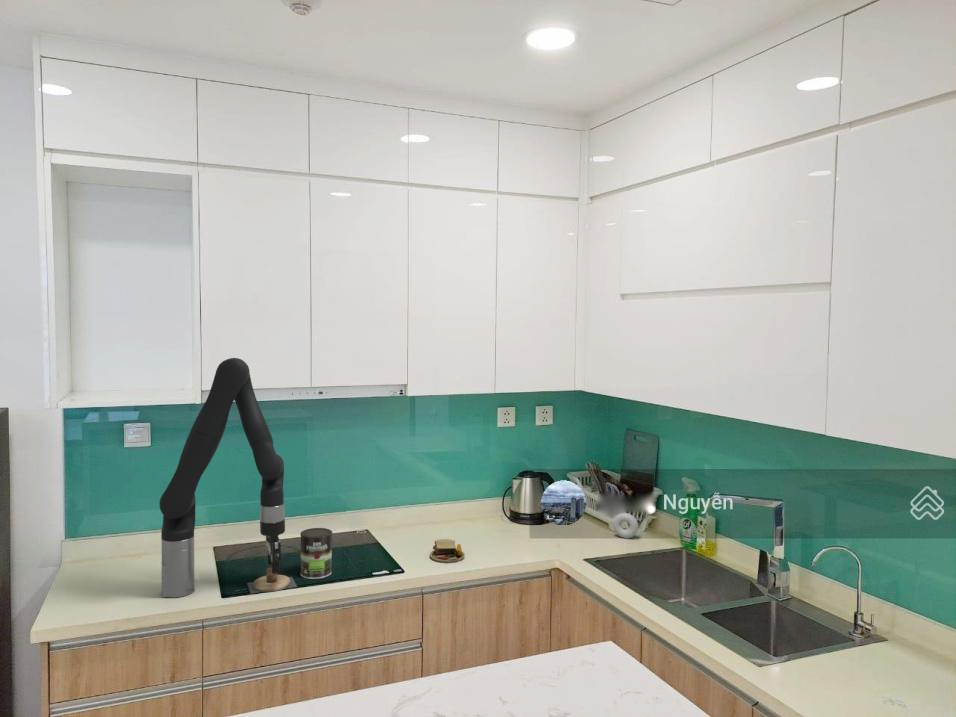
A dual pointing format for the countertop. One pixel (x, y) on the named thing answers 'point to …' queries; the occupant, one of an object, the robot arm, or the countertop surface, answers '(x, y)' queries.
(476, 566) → the countertop surface
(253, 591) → the mat
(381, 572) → the countertop surface
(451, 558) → the toy sandwich meal
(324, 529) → the coffee can
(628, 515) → the donut
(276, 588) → the lid
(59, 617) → the countertop surface
